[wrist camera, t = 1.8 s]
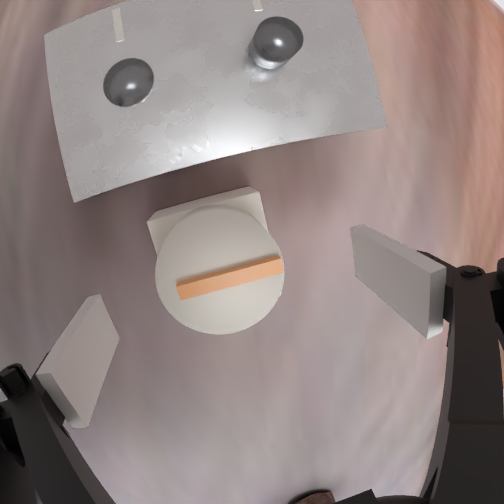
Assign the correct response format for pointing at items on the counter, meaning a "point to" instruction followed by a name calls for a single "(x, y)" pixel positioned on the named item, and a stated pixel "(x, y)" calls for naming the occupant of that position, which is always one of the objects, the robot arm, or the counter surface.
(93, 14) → the panel
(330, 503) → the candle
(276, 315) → the counter surface
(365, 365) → the counter surface
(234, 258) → the knob
